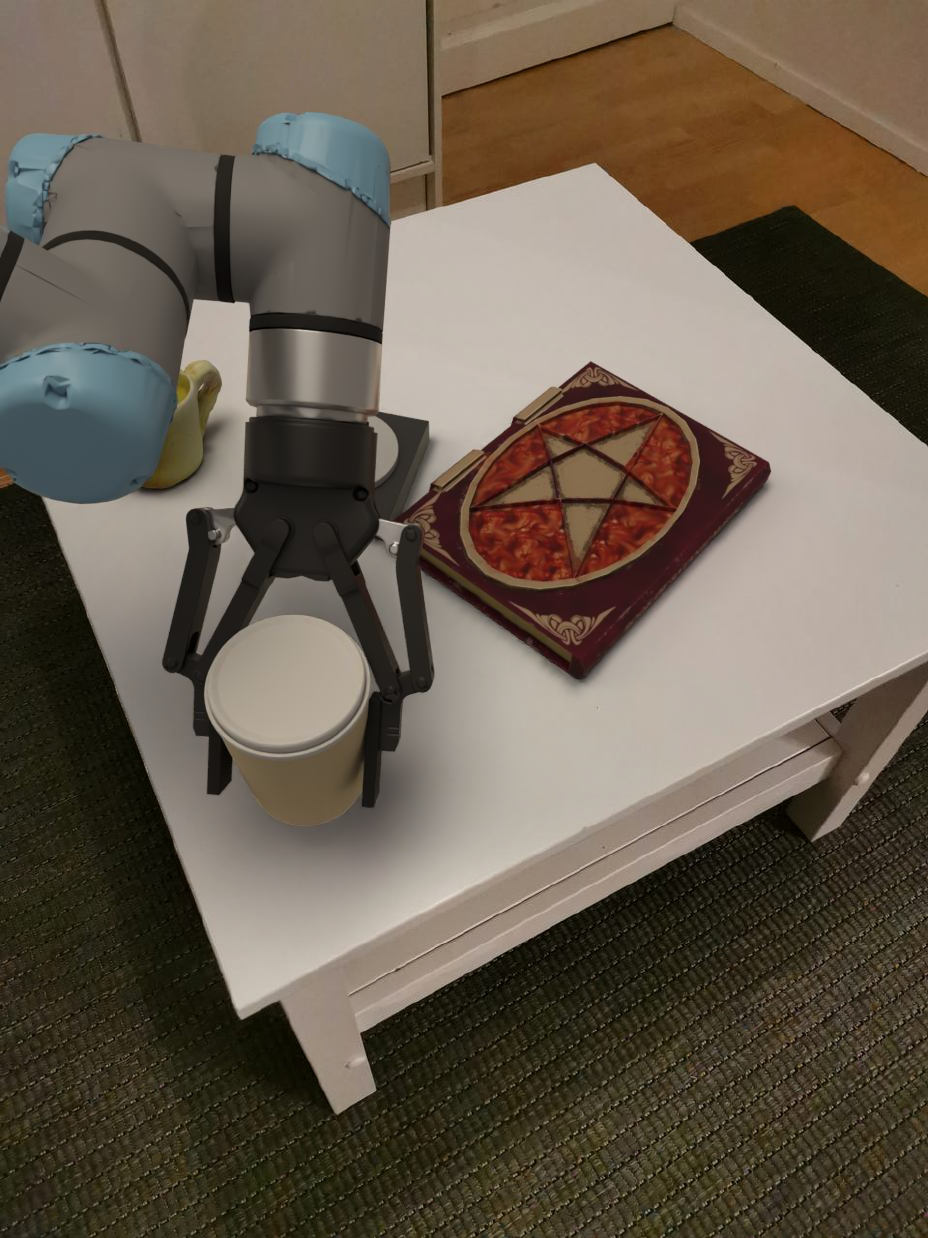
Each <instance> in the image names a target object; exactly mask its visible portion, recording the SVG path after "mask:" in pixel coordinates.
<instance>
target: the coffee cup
mask: <svg viewBox="0 0 928 1238" xmlns="http://www.w3.org/2000/svg"><path fill="white" fill-rule="evenodd" d="M371 687H372V677H371V669H370V666H369V664H368V661H367V659H366V657H365V654H364V652H363V649H362V648H361V646H359V644H358V643H357V642H356V641H355V640H354V638H352V637H351V636H350V635H349V634H348V633H346V632H345V631H344V630H342V629H341V628H340V627H339V626H336V625H335V624H333V623H331V622H329V621H327V620H324V619H322V618H318V617H315V616H311V615H306V614H305V615H304V614H282V615H276V616H270V617H267V618H264V619H261V620H258V621H255V622H253V623H252V624H251V623H250V624H249V626H248V627H246V628H244V629H242V630H241V631H239V632H238V633H237V634H235V635H234V636H233V637H232V638H231V639H230V640H229V641H228V642H227V643H226V644H225V645H224V646H223V647H222V648H221V650H220V651H219V653H218V654H217V656H216V657H215V659H214V661H213V663H212V665H211V667H210V669H209V672H208V675H207V678H206V683H205V691H204V697H205V705H206V710H207V713H208V716H209V719H210V721H211V723H212V725H213V726H214V728H215V729H216V731H217V732H218V734H219V735H220V736H221V737H222V739H223V741H224V743H225V745H226V747H227V749H228V751H229V752H230V754H231V756H232V758H233V762H234V763H235V765H236V767H237V769H238V771H239V773H240V774H241V776H242V778H243V780H244V782H245V784H246V785H247V787H248V788H249V790H250V792H251V794H252V796H253V797H254V798H255V800H256V802H257V804H259V806H260V807H261V808H262V809H263V811H265V813H267V814H268V815H269V816H271V817H272V818H274V819H275V820H277V821H279V822H281V823H284V824H287V825H291V826H296V827H312V826H320V825H322V824H325V823H329V822H330V821H334V820H335V819H337V818H339V817H340V816H342V815H343V814H345V813H346V812H347V811H348V810H349V809H350V808H351V807H352V806H353V805H354V804H355V803H356V801H357V800H358V798H359V797H360V796H361V795H362V789H363V772H364V755H365V738H366V722H367V716H368V706H369V698H370V697H371V689H372V688H371Z"/></svg>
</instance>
